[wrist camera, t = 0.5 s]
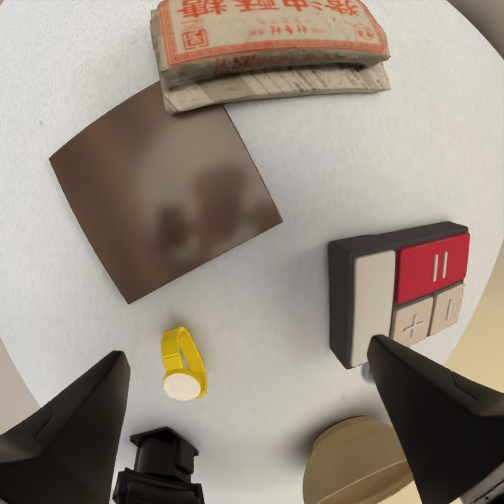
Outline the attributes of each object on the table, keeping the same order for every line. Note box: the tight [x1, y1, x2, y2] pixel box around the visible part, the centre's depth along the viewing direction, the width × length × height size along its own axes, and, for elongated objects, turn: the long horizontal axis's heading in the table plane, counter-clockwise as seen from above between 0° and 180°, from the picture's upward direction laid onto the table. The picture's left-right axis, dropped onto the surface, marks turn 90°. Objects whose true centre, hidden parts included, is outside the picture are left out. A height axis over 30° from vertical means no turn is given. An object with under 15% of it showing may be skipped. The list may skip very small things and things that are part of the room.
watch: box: [161, 327, 207, 401], centre depth 20 cm, size 6×3×6 cm, turn 17°
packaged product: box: [150, 0, 391, 115], centre depth 15 cm, size 18×5×10 cm
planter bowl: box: [303, 416, 414, 504], centre depth 25 cm, size 16×16×11 cm
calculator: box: [328, 222, 470, 369], centre depth 23 cm, size 11×4×15 cm
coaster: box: [49, 81, 283, 304], centre depth 19 cm, size 14×14×1 cm
